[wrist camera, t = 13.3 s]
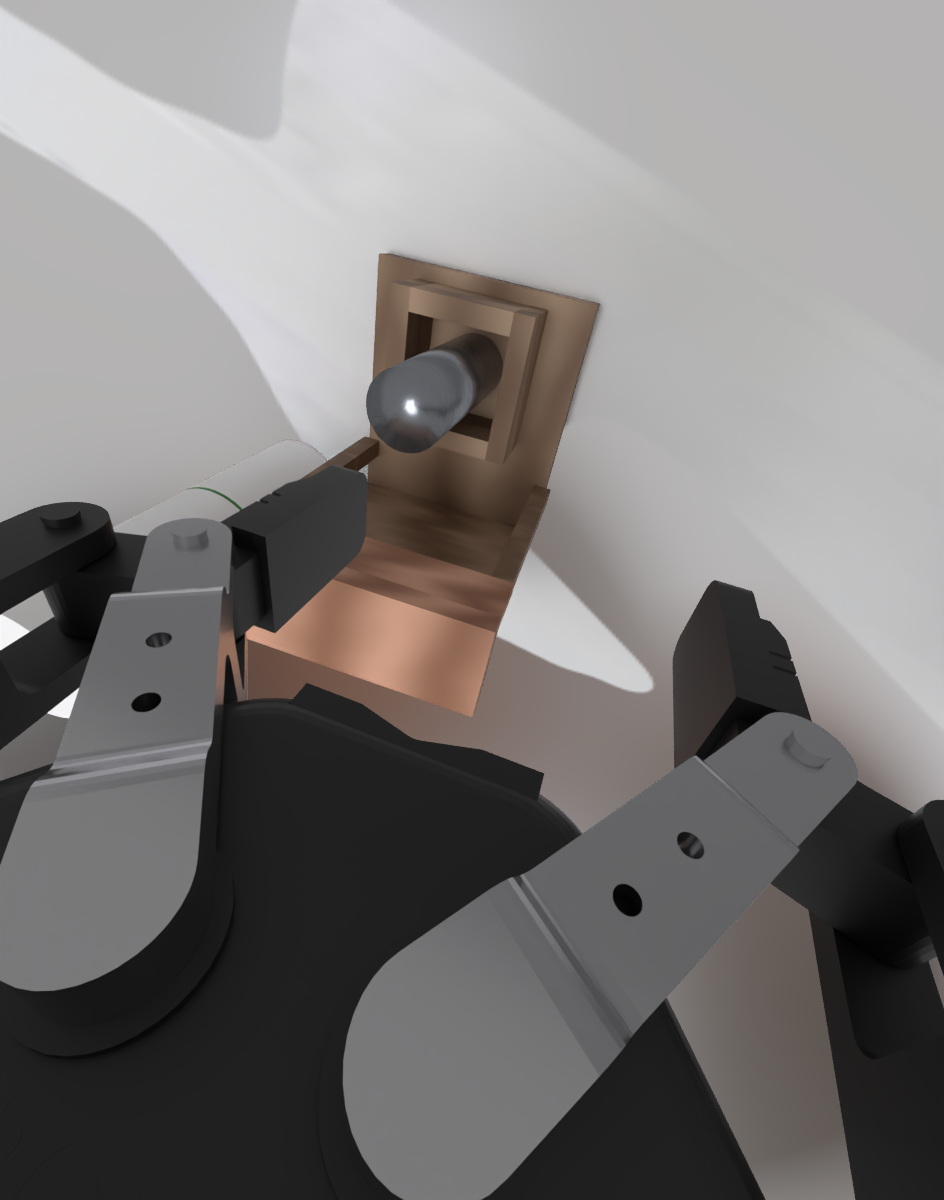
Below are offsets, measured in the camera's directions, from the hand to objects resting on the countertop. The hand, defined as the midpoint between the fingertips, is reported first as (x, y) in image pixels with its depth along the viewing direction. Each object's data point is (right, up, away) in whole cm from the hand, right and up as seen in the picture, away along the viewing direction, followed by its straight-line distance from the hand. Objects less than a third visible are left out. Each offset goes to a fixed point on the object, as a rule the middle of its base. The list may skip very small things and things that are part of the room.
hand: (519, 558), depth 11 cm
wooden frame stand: (-1, +13, +25) cm, 28 cm away
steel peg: (-1, +15, +22) cm, 26 cm away
